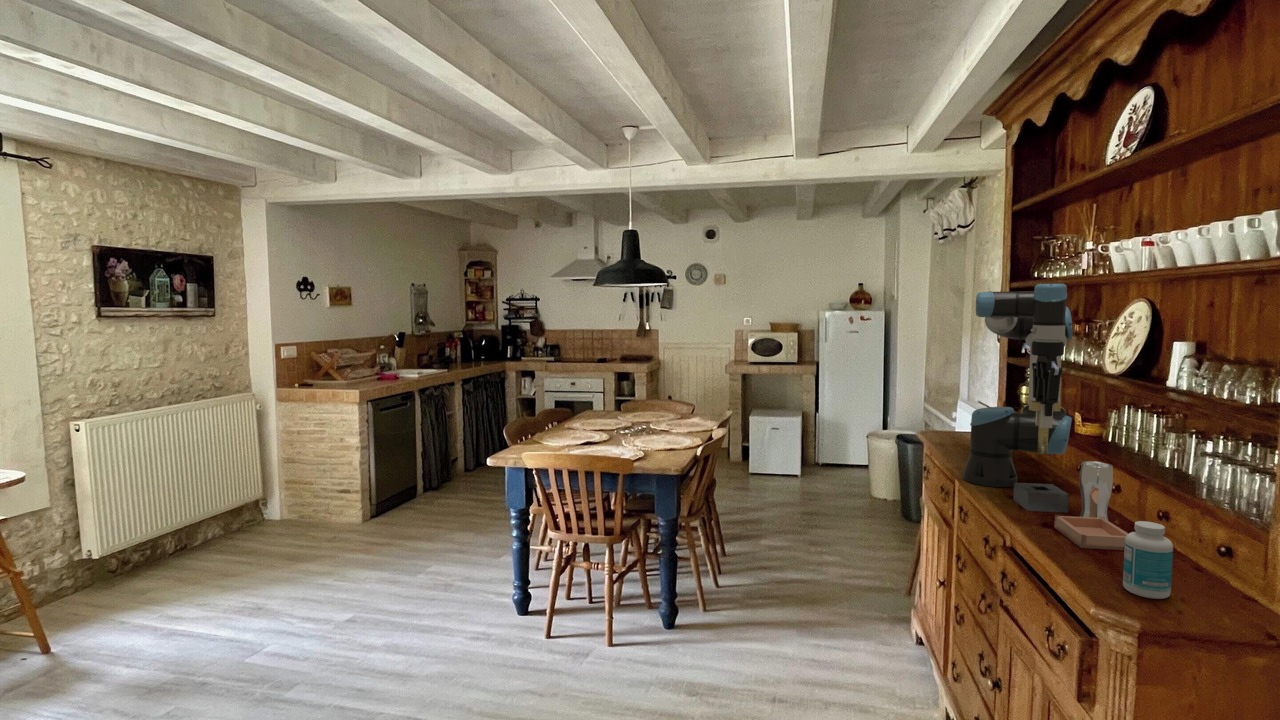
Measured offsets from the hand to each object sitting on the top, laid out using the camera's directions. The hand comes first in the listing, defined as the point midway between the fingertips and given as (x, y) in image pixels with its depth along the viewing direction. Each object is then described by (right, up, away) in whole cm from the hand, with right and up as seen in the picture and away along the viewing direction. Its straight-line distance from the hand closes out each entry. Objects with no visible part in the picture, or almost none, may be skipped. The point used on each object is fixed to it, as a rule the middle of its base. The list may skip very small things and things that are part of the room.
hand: (1043, 426), depth 180 cm
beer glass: (+6, -24, -11) cm, 27 cm away
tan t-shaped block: (0, -8, +1) cm, 8 cm away
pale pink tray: (-3, -25, -23) cm, 34 cm away
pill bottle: (-12, -27, -52) cm, 60 cm away
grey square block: (0, -22, +2) cm, 22 cm away
